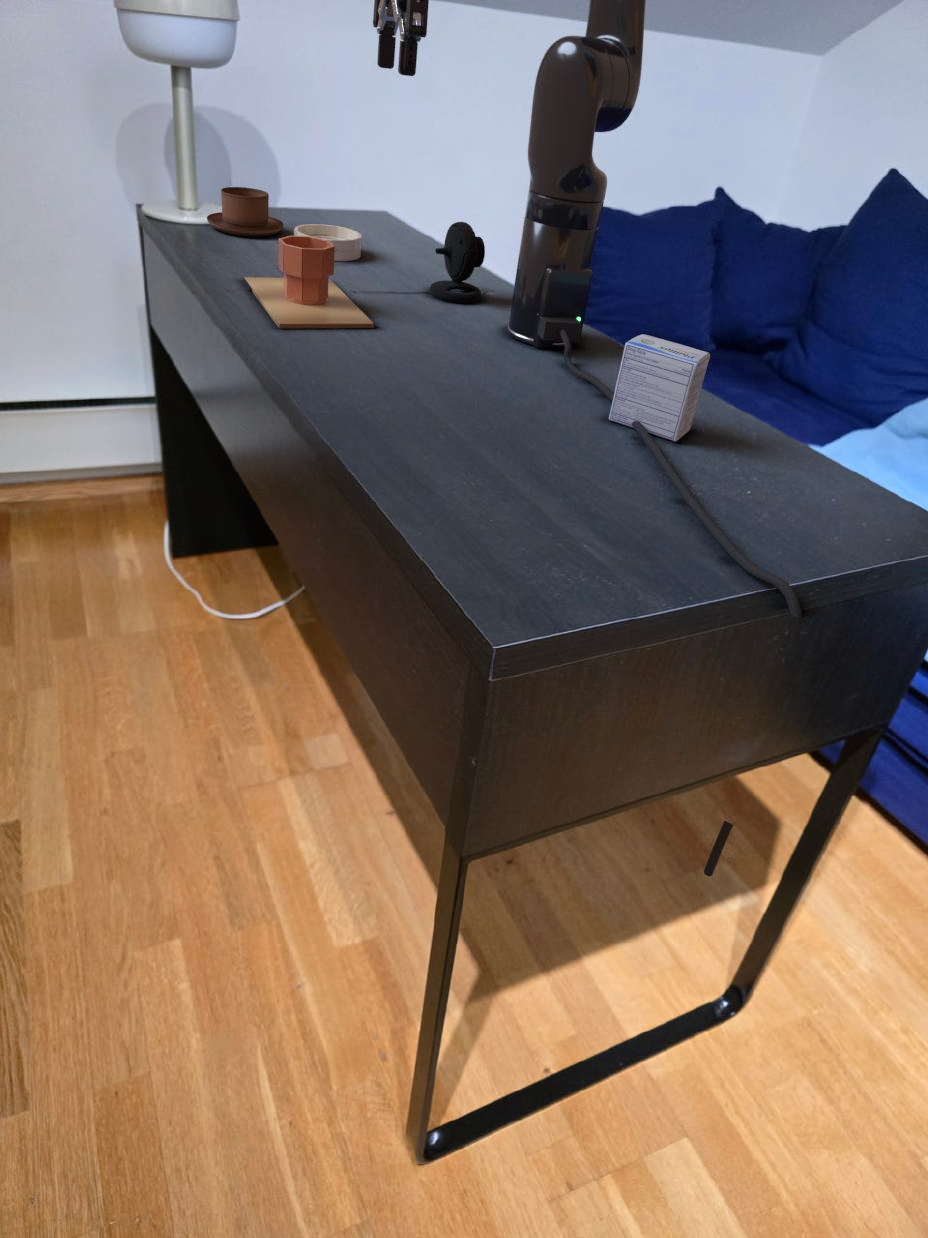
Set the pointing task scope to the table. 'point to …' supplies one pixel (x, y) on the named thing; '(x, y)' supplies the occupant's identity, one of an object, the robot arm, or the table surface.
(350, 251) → the cream bowl
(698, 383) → the medicine box
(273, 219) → the cup and saucer
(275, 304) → the oak mat
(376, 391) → the table surface
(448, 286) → the webcam
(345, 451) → the table surface
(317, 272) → the terracotta plant pot
